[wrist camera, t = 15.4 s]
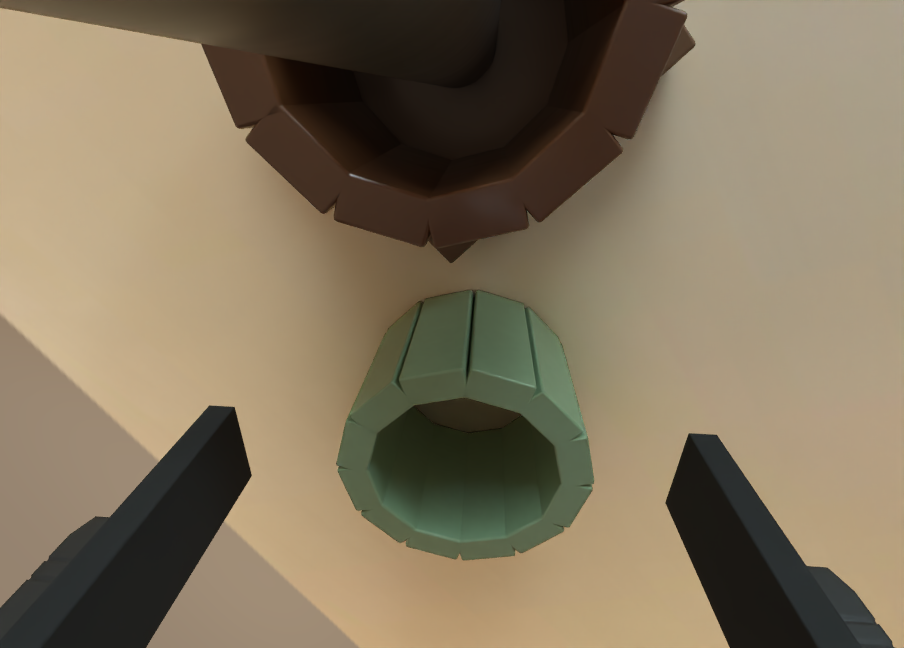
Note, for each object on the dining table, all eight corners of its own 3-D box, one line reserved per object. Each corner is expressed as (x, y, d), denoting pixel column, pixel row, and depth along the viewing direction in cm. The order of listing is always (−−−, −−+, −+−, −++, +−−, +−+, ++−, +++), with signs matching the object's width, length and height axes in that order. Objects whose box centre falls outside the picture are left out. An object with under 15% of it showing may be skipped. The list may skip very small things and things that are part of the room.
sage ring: (603, 384, 17) (645, 491, 12) (466, 473, 19) (458, 587, 15) (476, 250, 15) (469, 318, 10) (341, 369, 17) (289, 464, 13)
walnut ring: (666, 44, 10) (796, 5, 6) (450, 242, 13) (429, 318, 9) (460, -268, 8) (425, -671, 4) (254, 38, 11) (93, -2, 7)
